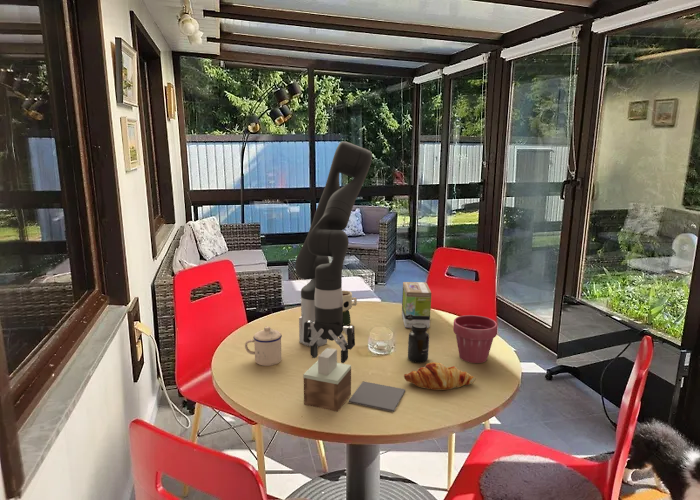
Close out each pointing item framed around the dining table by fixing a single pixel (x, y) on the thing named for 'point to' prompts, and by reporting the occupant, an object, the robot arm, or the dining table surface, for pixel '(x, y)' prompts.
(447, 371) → the croissant
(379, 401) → the rubber pad
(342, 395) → the walnut box
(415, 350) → the supplement bottle
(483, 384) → the dining table surface
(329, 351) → the lid
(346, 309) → the character mug
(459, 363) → the dining table surface
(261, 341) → the teacup with lid
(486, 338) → the plant pot
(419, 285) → the tea box
